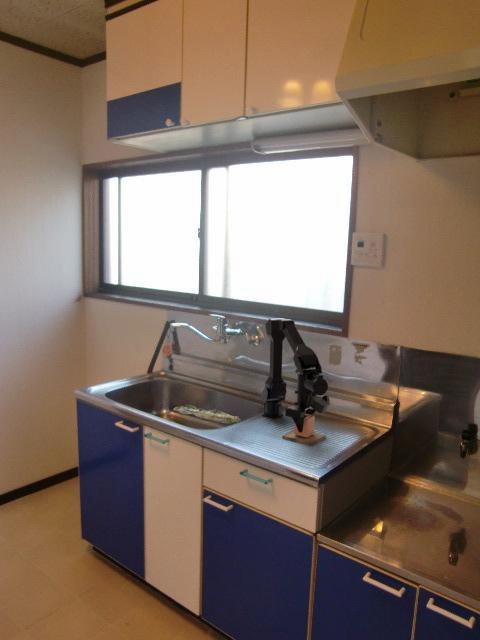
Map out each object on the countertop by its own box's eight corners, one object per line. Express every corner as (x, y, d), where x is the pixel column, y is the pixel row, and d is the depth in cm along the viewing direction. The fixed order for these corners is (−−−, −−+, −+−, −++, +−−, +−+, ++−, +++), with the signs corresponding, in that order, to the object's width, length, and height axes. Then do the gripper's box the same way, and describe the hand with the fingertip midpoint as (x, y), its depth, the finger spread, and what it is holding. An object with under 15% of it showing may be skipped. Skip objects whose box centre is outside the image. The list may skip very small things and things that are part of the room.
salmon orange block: (294, 434, 178) (294, 416, 177) (301, 430, 183) (301, 412, 182) (307, 437, 175) (307, 419, 174) (314, 433, 180) (314, 415, 179)
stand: (282, 438, 179) (282, 419, 178) (296, 430, 187) (296, 411, 186) (312, 446, 172) (313, 426, 171) (325, 437, 180) (326, 418, 179)
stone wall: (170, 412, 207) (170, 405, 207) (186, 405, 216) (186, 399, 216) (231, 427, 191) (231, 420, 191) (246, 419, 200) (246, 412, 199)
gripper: (313, 398, 164) (312, 443, 167) (337, 385, 179) (336, 427, 182) (284, 392, 171) (283, 436, 173) (310, 380, 186) (308, 421, 188)
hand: (304, 430), depth 179 cm, fingers closed on salmon orange block, 5 cm apart
